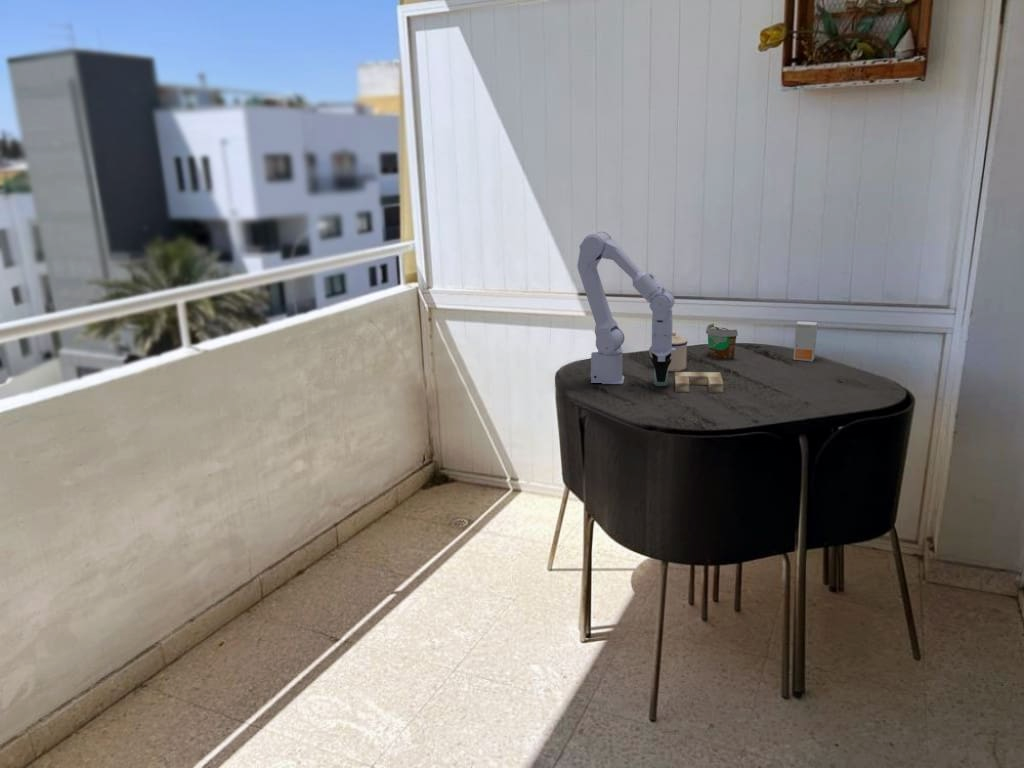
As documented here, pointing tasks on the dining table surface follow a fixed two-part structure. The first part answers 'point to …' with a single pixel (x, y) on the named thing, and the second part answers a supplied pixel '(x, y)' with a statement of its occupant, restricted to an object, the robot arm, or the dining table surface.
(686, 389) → the notched board
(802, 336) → the skincare box
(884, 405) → the dining table surface
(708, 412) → the dining table surface
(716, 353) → the food container
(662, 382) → the teal peg
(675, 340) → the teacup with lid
